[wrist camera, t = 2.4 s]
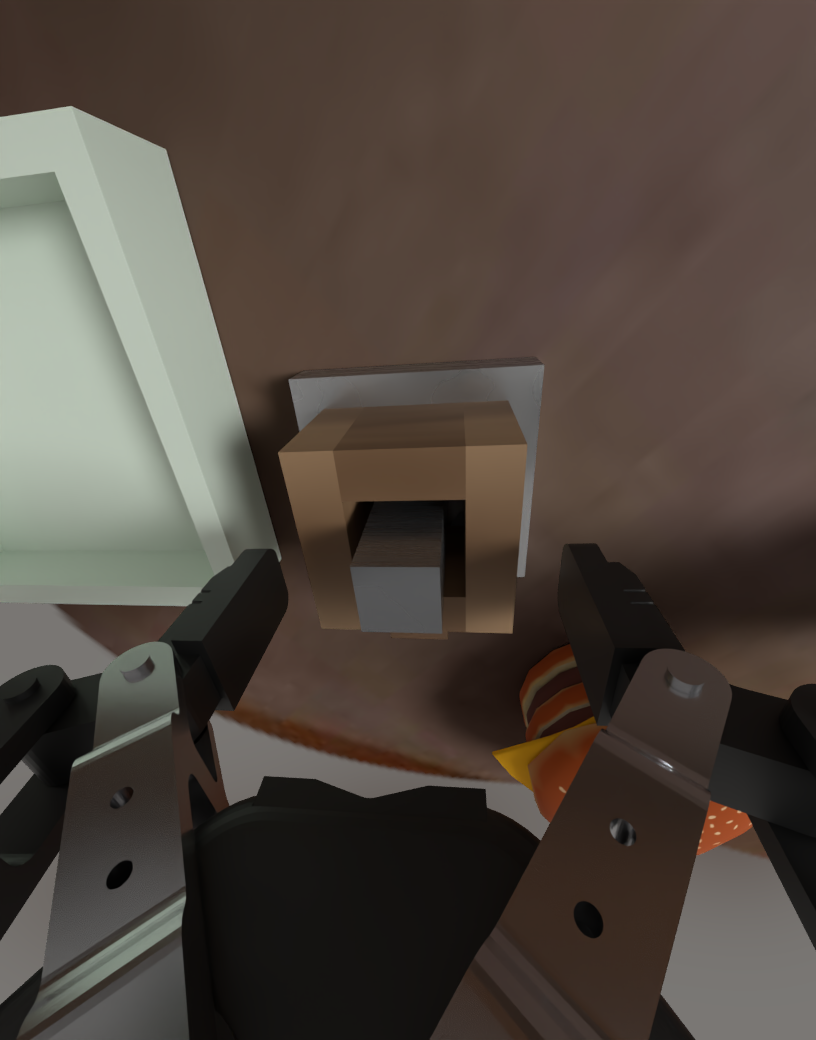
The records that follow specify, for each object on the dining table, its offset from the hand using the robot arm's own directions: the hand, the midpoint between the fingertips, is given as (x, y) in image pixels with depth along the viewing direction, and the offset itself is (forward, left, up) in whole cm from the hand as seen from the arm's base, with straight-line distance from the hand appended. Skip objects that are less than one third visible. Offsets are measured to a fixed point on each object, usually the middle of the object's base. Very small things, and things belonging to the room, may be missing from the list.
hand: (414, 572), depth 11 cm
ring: (-1, 0, -4) cm, 4 cm away
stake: (-1, 0, -6) cm, 6 cm away
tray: (-4, -14, -6) cm, 16 cm away
